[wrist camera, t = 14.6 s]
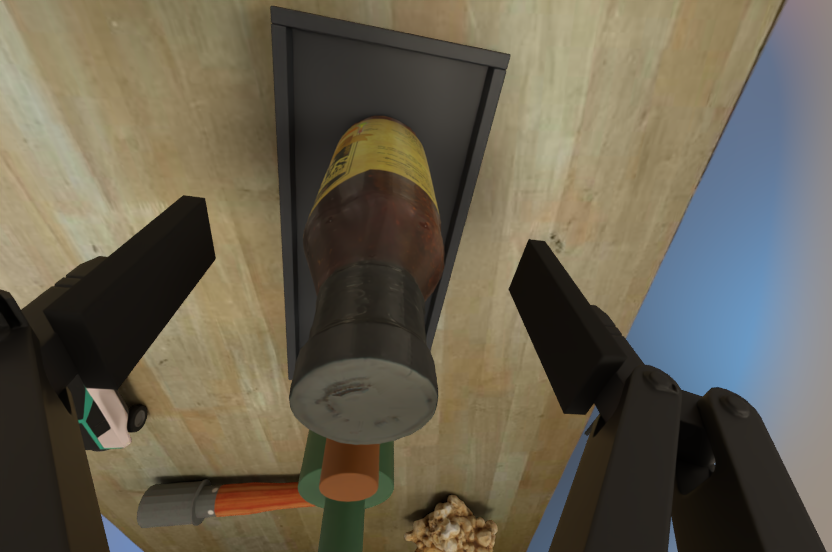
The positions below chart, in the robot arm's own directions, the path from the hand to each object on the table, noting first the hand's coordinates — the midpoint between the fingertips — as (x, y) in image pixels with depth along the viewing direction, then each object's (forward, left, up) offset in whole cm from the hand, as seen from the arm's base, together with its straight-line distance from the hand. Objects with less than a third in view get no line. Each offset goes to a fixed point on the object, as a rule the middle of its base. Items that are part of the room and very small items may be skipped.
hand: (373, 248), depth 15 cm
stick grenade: (+48, -11, -14) cm, 51 cm away
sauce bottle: (0, 0, -13) cm, 13 cm away
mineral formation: (+58, +19, -14) cm, 63 cm away
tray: (+8, 0, -13) cm, 16 cm away
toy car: (+28, -26, -14) cm, 41 cm away
